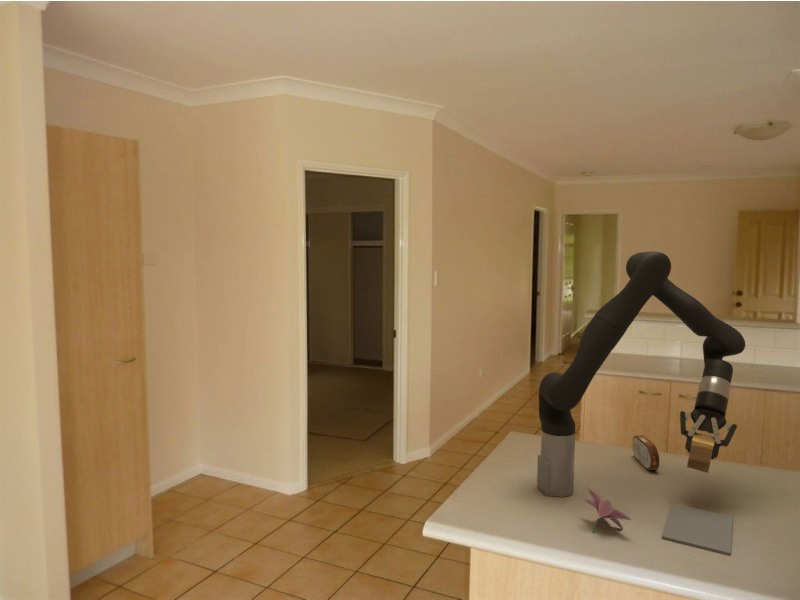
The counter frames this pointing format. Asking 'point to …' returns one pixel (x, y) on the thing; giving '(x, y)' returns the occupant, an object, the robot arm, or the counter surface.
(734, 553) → the counter surface
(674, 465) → the counter surface
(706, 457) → the block
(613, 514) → the lily
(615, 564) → the counter surface
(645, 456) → the tin
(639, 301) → the robot arm
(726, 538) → the mat
